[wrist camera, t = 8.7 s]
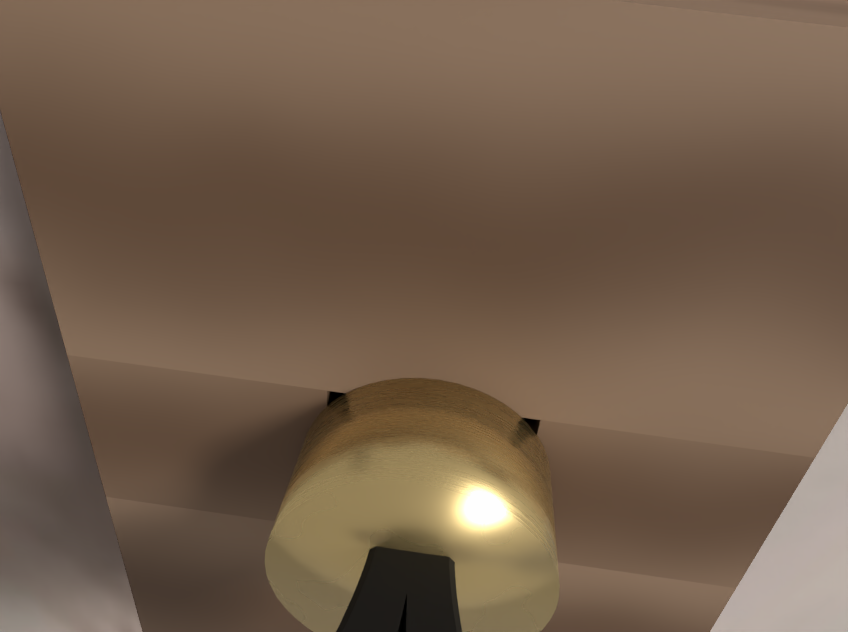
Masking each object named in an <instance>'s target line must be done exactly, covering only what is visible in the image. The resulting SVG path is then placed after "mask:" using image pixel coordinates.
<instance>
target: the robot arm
mask: <svg viewBox="0 0 848 632" xmlns="http://www.w3.org/2000/svg"><path fill="white" fill-rule="evenodd" d="M336 632H462V627H461V621H460V615H459V608H458V600H457V591H456V578H455V562H454V561H453V560H452V559H451V558H450V557H447V556H440V555H433V554H426V553H419V552H412V551H405V550H398V549H391V548H384V547H378V546H376V547H374V548H372V549H370V550H369V553H368V556H367V559H366V563H365V565H364V568H363V571H362V574H361V576H360V579H359V582H358V584H357V587H356V589H355V591H354V594H353V596H352V598H351V601H350V603H349V605H348V607H347V609H346V612H345V614H344V616H343V618H342V621H341V623H340V625H339V627H338V629H337V631H336Z"/></svg>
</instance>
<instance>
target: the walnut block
mask: <svg viewBox="0 0 848 632" xmlns="http://www.w3.org/2000/svg"><path fill="white" fill-rule="evenodd" d="M0 111H1V115H2V118H3V122H4V126H5V129H6V133H7V137H8V140H9V144H10V148H11V151H12V155H13V159H14V162H15V166H16V170H17V173H18V177H19V181H20V184H21V188H22V192H23V195H24V199H25V203H26V206H27V210H28V214H29V217H30V221H31V225H32V228H33V232H34V236H35V239H36V243H37V247H38V250H39V254H40V258H41V261H42V265H43V269H44V272H45V276H46V280H47V283H48V287H49V291H50V294H51V298H52V301H53V305H54V309H55V312H56V316H57V320H58V323H59V327H60V331H61V334H62V338H63V342H64V345H65V349H66V353H67V356H68V360H69V364H70V367H71V371H72V375H73V378H74V382H75V386H76V389H77V393H78V397H79V400H80V404H81V408H82V411H83V415H84V419H85V422H86V426H87V430H88V433H89V437H90V441H91V444H92V448H93V452H94V455H95V459H96V463H97V466H98V470H99V474H100V477H101V481H102V485H103V488H104V492H105V496H106V499H107V503H108V507H109V510H110V514H111V518H112V521H113V525H114V529H115V532H116V536H117V540H118V543H119V547H120V551H121V554H122V558H123V562H124V565H125V569H126V572H127V576H128V580H129V583H130V587H131V591H132V594H133V598H134V602H135V605H136V609H137V613H138V616H139V620H140V624H141V627H142V631H143V632H313V631H311V630H310V629H308V628H307V627H306V626H304V625H303V624H302V623H301V622H299V621H298V620H297V619H296V618H295V617H294V616H293V615H292V614H291V613H290V612H289V611H288V610H287V609H286V608H285V607H284V606H283V605H282V603H281V602H280V601H279V599H278V598H277V597H276V595H275V593H274V591H273V589H272V588H271V586H270V583H269V580H268V577H267V575H266V568H265V550H266V547H267V543H268V540H269V537H270V534H271V531H272V529H273V526H274V523H275V520H276V517H277V515H278V512H279V509H280V506H281V504H282V501H283V498H284V495H285V493H286V490H287V487H288V484H289V482H290V479H291V476H292V473H293V471H294V468H295V465H296V462H297V460H298V457H299V454H300V451H301V449H302V446H303V443H304V440H305V438H306V435H307V433H308V431H309V429H310V427H311V425H312V423H313V422H314V420H315V419H316V418H317V416H318V415H319V414H320V413H321V412H322V411H323V410H324V409H325V408H326V407H327V406H328V405H329V404H330V403H331V402H333V401H334V400H336V399H337V398H339V397H340V396H341V395H343V394H345V393H348V392H350V391H352V390H354V389H356V388H359V387H362V386H365V385H367V384H370V383H375V382H379V381H384V380H390V379H399V378H427V379H437V380H443V381H448V382H453V383H458V384H461V385H464V386H467V387H471V388H474V389H476V390H478V391H481V392H483V393H485V394H488V395H490V396H492V397H494V398H495V399H497V400H499V401H501V402H502V403H504V404H506V405H507V406H508V407H510V408H511V409H512V410H514V411H515V412H516V413H518V414H519V415H520V416H521V417H522V418H523V419H524V420H525V421H526V422H527V423H528V424H529V425H530V426H531V428H532V429H533V430H534V431H535V433H536V434H537V435H538V437H539V439H540V441H541V443H542V444H543V446H544V448H545V451H546V454H547V457H548V460H549V466H550V474H551V486H552V498H553V511H554V523H555V535H556V547H557V560H558V572H559V584H560V587H559V599H558V603H557V607H556V610H555V612H554V614H553V616H552V618H551V620H550V621H549V622H548V623H547V625H546V626H545V627H544V629H543V630H542V631H540V632H710V630H711V629H712V627H713V625H714V624H715V622H716V620H717V619H718V617H719V615H720V614H721V612H722V611H723V609H724V607H725V606H726V604H727V602H728V601H729V599H730V597H731V596H732V594H733V592H734V591H735V589H736V587H737V586H738V584H739V582H740V581H741V579H742V577H743V576H744V574H745V572H746V571H747V569H748V568H749V566H750V564H751V563H752V561H753V559H754V558H755V556H756V554H757V553H758V551H759V549H760V548H761V546H762V544H763V543H764V541H765V539H766V538H767V536H768V534H769V533H770V531H771V530H772V528H773V526H774V525H775V523H776V521H777V520H778V518H779V516H780V515H781V513H782V511H783V510H784V508H785V506H786V505H787V503H788V501H789V500H790V498H791V496H792V495H793V493H794V491H795V490H796V488H797V487H798V485H799V483H800V482H801V480H802V478H803V477H804V475H805V473H806V472H807V470H808V468H809V467H810V465H811V463H812V462H813V460H814V458H815V457H816V455H817V453H818V452H819V450H820V449H821V447H822V445H823V444H824V442H825V440H826V439H827V437H828V435H829V434H830V432H831V430H832V429H833V427H834V425H835V424H836V422H837V420H838V419H839V417H840V415H841V414H842V412H843V410H844V409H845V407H846V406H847V404H848V0H0Z"/></svg>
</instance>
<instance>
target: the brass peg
mask: <svg viewBox="0 0 848 632" xmlns="http://www.w3.org/2000/svg"><path fill="white" fill-rule="evenodd" d="M376 546H378V547H384V548H391V549H398V550H405V551H412V552H419V553H426V554H433V555H440V556H447V557H450V558H451V559H452V560H453V561H454V562H455V578H456V591H457V600H458V608H459V615H460V621H461V627H462V632H540V631H542V630H543V629H544V627H545V626H546V625H547V623H548V622H549V621H550V620H551V618H552V616H553V614H554V612H555V610H556V607H557V603H558V599H559V587H560V584H559V572H558V560H557V547H556V535H555V523H554V511H553V498H552V486H551V474H550V466H549V460H548V457H547V454H546V451H545V448H544V446H543V444H542V443H541V441H540V439H539V437H538V435H537V434H536V433H535V431H534V430H533V429H532V428H531V426H530V425H529V424H528V423H527V422H526V421H525V420H524V419H523V418H522V417H521V416H520V415H519V414H518V413H516V412H515V411H514V410H512V409H511V408H510V407H508V406H507V405H506V404H504V403H502V402H501V401H499V400H497V399H495V398H494V397H492V396H490V395H488V394H485V393H483V392H481V391H478V390H476V389H474V388H471V387H467V386H464V385H461V384H458V383H453V382H448V381H443V380H437V379H427V378H399V379H390V380H384V381H379V382H375V383H370V384H367V385H365V386H362V387H359V388H356V389H354V390H352V391H350V392H348V393H345V394H343V395H341V396H340V397H339V398H337V399H336V400H334V401H333V402H331V403H330V404H329V405H328V406H327V407H326V408H325V409H324V410H323V411H322V412H321V413H320V414H319V415H318V416H317V418H316V419H315V420H314V422H313V423H312V425H311V427H310V429H309V431H308V433H307V435H306V438H305V440H304V443H303V446H302V449H301V451H300V454H299V457H298V460H297V462H296V465H295V468H294V471H293V473H292V476H291V479H290V482H289V484H288V487H287V490H286V493H285V495H284V498H283V501H282V504H281V506H280V509H279V512H278V515H277V517H276V520H275V523H274V526H273V529H272V531H271V534H270V537H269V540H268V543H267V547H266V550H265V568H266V575H267V577H268V580H269V583H270V586H271V588H272V589H273V591H274V593H275V595H276V597H277V598H278V599H279V601H280V602H281V603H282V605H283V606H284V607H285V608H286V609H287V610H288V611H289V612H290V613H291V614H292V615H293V616H294V617H295V618H296V619H297V620H298V621H299V622H301V623H302V624H303V625H304V626H306V627H307V628H308V629H310V630H311V631H313V632H336V631H337V629H338V627H339V625H340V623H341V621H342V618H343V616H344V614H345V612H346V609H347V607H348V605H349V603H350V601H351V598H352V596H353V594H354V591H355V589H356V587H357V584H358V582H359V579H360V576H361V574H362V571H363V568H364V565H365V563H366V559H367V556H368V553H369V550H370V549H372V548H374V547H376Z"/></svg>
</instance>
